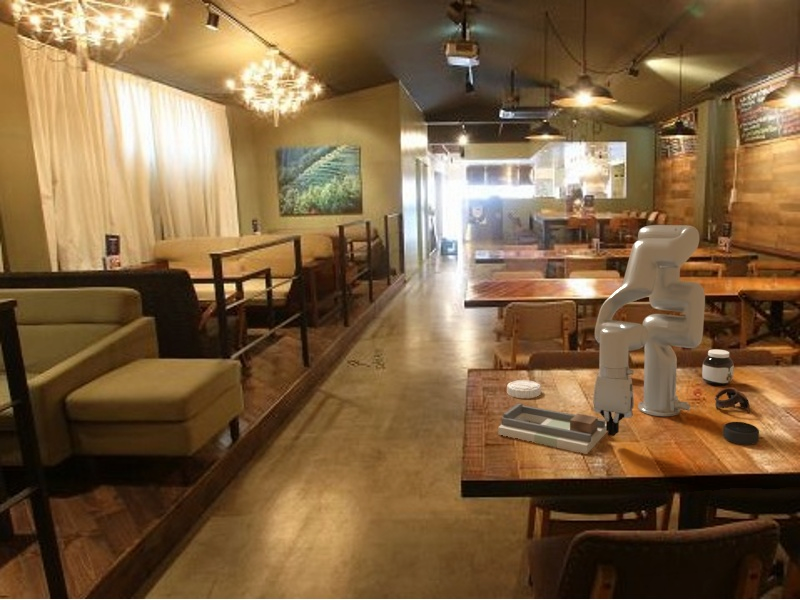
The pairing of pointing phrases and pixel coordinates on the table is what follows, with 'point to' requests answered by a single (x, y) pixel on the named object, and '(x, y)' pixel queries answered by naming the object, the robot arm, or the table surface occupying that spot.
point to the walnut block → (584, 424)
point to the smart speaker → (741, 433)
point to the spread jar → (718, 368)
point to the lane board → (548, 428)
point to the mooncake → (523, 389)
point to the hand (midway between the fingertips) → (612, 433)
